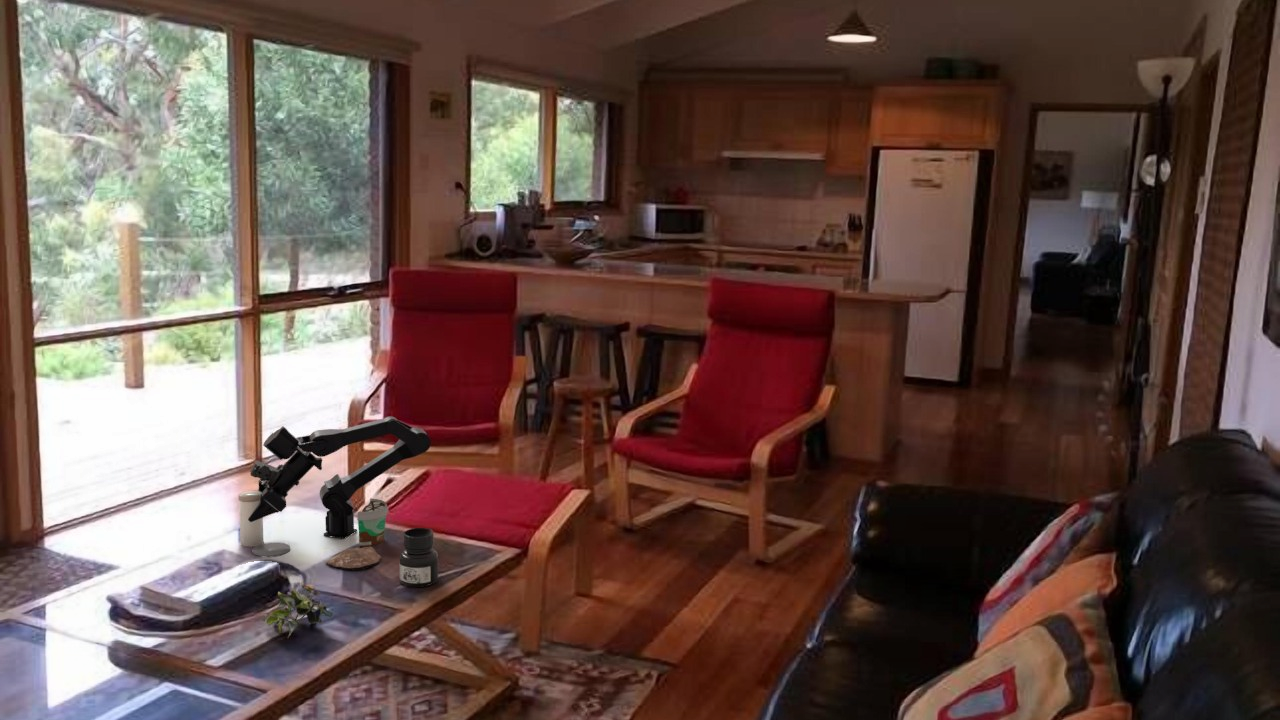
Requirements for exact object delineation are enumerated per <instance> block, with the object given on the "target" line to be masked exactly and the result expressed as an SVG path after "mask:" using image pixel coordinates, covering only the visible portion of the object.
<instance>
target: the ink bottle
mask: <svg viewBox="0 0 1280 720" xmlns="http://www.w3.org/2000/svg"><path fill="white" fill-rule="evenodd" d="M434 541H435V540H434V530H432V529H430V528H428V527H427V528H424V527H415V528H410V529H407V530H405V531H404V533H403V545H404V546H403V548H404V550H403V551H402V552H401V553H400V555H399V582H400V583H401V585H404V586H405V587H412V588H422V587H421V586H425V587H427V586H426V585H428V584H431V583H433V582H435V581H436V580H437V579H438V580H439V554H438V552H437V551H436V550H435V549H434ZM438 580H437V581H438ZM437 581H436V582H437ZM436 582H435V583H436ZM433 584H434V583H433ZM431 585H432V584H431Z"/></svg>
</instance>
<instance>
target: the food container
mask: <svg viewBox="0 0 1280 720" xmlns="http://www.w3.org/2000/svg"><path fill="white" fill-rule="evenodd" d="M389 512H390V511H389V507H388V505H387V503H386V502H385V500H382V499H377V498H372V497H371V498H369V503H368V504H367V505H366V506H364V508H363V509H362V510H361V511H357V516H356V517H357V519H356V521H357V524H358V525H357V526H358V528H357V529H358V541H359V542H358V544H359V547H358V548H363V547H373V548H376V547H378V546H381V545H382V543H383V544H384V542H385V535H386V534H385V533H386V532H385V531H386V518H387V517H386V516H387V515H388V514H389Z"/></svg>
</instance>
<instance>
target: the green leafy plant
mask: <svg viewBox="0 0 1280 720" xmlns="http://www.w3.org/2000/svg"><path fill="white" fill-rule="evenodd" d="M302 588H304V590H306V591H307V592H308V594H306V593H304V592H303V591H301V590H298V591H297V589H292V590H291V589H290V590H289V591H287V594H285V593H281V592H280V591H278V592H277V595H278V598H279V599H280V602H279V603H278V606H277V607H278V608H277V609H275V610H273V611H272V613H270V614H269V612H265V613H264V615H263V617H262V618H261V621H263V622H266V625H267V626H268V627H270V626H271V625H273V626H274V627H276V626H277V625H278V624H279V626H278V628H277V629H278V633H279V634H281V632H282V629H283V625H284V624H285V623H287V622H288V629H289V634H288V636H287V638H286V639H289V638H290V637H291V635H292V633H293V632H294V630H296V628H297V627H298V626H299V624H300V622H301V621H302V620H303V619H304V618H305V616H306V617H307V619H308V620H307V621H308V622H309V623H310V624H312V625H314V624H316V623H318V624H319V623H320V624H322V623H323V621H322V619H321V616H322V615H325V616H326V617H329V618H332V617H333V616H334V612H331V611H329V610H328V608H327V605H326V603H325V602H324V603H323V602H321V600H322V598H320V597H319V598H318V597H313V595H314V596H318V595H320V594H321V592H320V591H319V590H318V589H316V588H315V587H312V586H310V585H306V584H302ZM285 606H287V607H285ZM283 607H285V608H284V609H283ZM295 611H296V613H297V615H296V616H295V617H293V616H292V613H293V612H295ZM299 615H300V616H302V617H300V618H299V619H298V616H299ZM288 619H290V620H288ZM265 620H266V621H265Z"/></svg>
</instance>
